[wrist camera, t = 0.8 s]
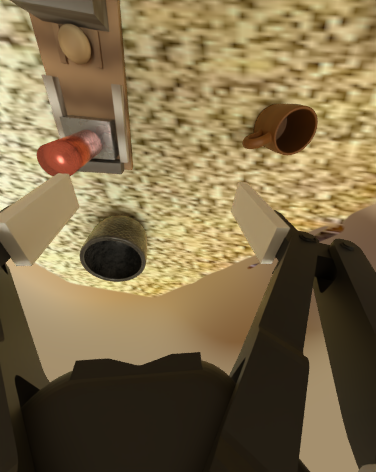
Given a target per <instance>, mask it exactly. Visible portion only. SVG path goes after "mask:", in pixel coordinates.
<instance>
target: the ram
mask: <svg viewBox="0 0 376 472" xmlns="http://www.w3.org/2000/svg"><path fill="white" fill-rule="evenodd" d="M60 121H61V124H62V128H63V132H64V135H65V137H63V138H61V139H58V140H55V141H53V142H50V143H47V144H44V145H42V146H41V147H40V148H39V149H38V151H37V159H38V162H39V164H40V166H41V167H42V168H43V169H44V170H45V171H46V172H47V173H48V174H50V175H52V176H55V175H56V174H58V173H61V174H69V175H70V176H71V175H73V174H74V173H75V172H76V171H78V170H79V169H80V168H81V167H83V166H84V165H85V164H86V163H87V162H89V161H90V160H91V159H92V158H97V159H110V160H115V159H116V158H117V156H118V155H119V150H118V142H117V134H116V125H115V120H114V119H104V118H95V117H85V116H76V115H66V116H60Z"/></svg>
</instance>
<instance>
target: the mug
mask: <svg viewBox="0 0 376 472" xmlns="http://www.w3.org/2000/svg"><path fill="white" fill-rule="evenodd" d="M317 123H318V121H317V115H316V113H315V111H314V110H313V109H312V108H310V107H308V106H303V105H298V104H274V105H271V106H269V107H267V108H266V109H264V110H263V111H262V112H261V114H260V115H259V116H258V118H257V120H256V123H255V126H254V133H253V134H250V135H248V136H247V137H245V138H244V140H243V146H244V147H245V148H247V149H254V148H259V147H262V146H264V147H266V148H268V149H270V150H272V151H274V152H277V153H279V154H283V155H292V154H295V153H298V152H300V151H301V150H302V149H304V148H305V147H306V146H307V145H308V144H309V143H310V141H311V140H312V138H313V137H314V135H315V132H316V129H317Z"/></svg>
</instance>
